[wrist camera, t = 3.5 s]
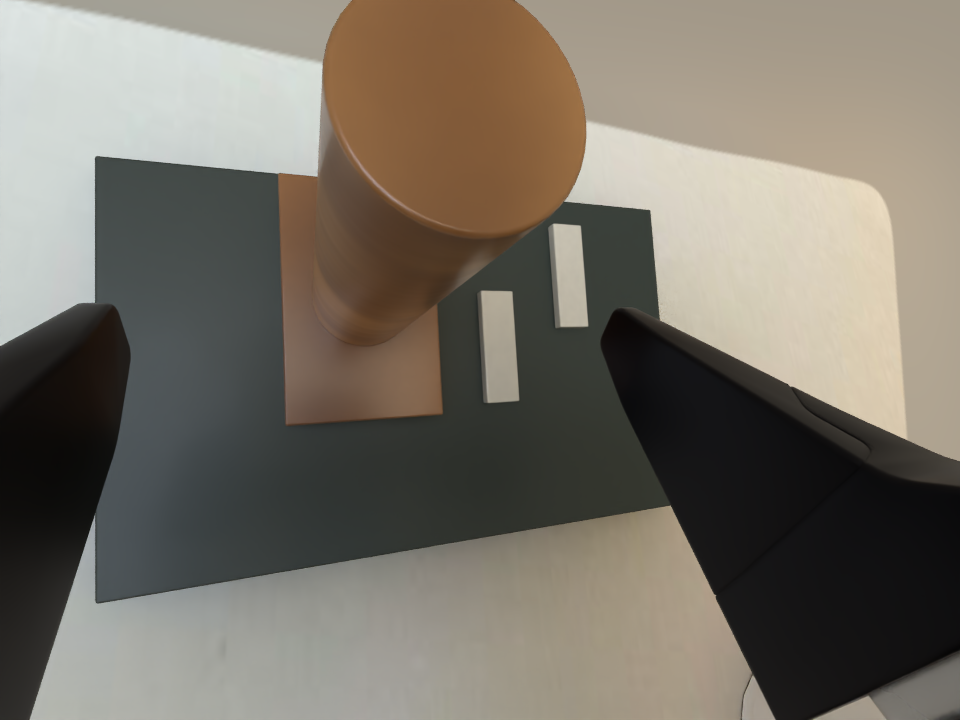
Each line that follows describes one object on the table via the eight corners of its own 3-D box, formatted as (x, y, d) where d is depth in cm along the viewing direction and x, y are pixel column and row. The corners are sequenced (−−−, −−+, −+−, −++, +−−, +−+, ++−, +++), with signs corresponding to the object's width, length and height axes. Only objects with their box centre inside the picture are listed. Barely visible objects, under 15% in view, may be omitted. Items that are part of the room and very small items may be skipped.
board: (637, 217, 24) (650, 209, 23) (661, 500, 23) (676, 505, 22) (106, 169, 16) (94, 154, 15) (107, 592, 15) (94, 605, 14)
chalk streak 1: (508, 293, 20) (513, 291, 19) (514, 401, 19) (520, 401, 19) (476, 292, 19) (480, 290, 19) (482, 403, 19) (487, 403, 19)
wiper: (417, 211, 19) (623, -146, 7) (427, 413, 18) (672, 433, 6) (281, 199, 17) (216, -312, 5) (287, 423, 16) (232, 479, 4)
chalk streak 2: (575, 229, 21) (581, 225, 21) (582, 328, 21) (588, 326, 20) (547, 227, 21) (553, 223, 20) (554, 328, 20) (560, 327, 20)
